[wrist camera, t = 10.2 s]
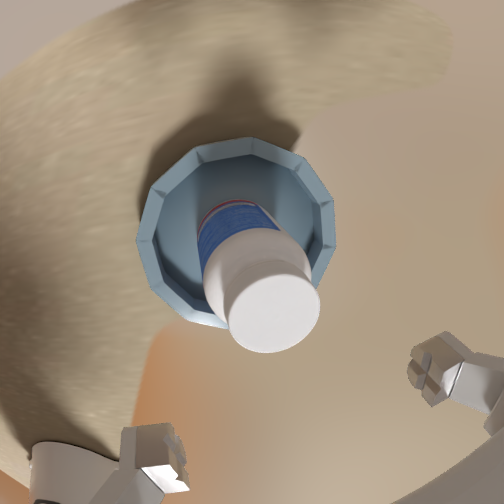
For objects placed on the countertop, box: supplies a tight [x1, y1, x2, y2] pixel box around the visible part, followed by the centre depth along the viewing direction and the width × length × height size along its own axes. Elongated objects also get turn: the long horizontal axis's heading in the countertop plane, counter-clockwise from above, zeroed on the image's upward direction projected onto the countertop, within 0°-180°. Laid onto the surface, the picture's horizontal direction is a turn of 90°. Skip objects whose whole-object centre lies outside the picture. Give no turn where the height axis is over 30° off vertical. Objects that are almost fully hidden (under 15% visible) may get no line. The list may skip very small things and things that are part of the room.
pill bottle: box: [197, 199, 320, 353], centre depth 17 cm, size 6×5×10 cm
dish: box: [136, 137, 336, 329], centre depth 21 cm, size 13×13×2 cm
